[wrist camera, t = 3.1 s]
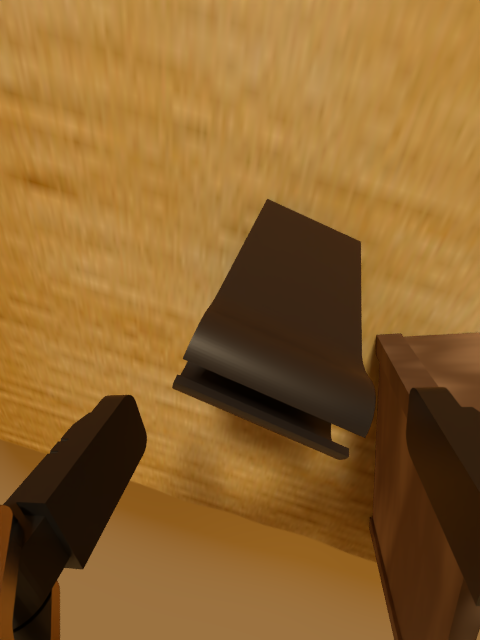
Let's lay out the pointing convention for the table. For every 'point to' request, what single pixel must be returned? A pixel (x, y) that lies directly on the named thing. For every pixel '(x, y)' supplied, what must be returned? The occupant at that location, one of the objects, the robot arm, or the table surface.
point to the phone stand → (287, 334)
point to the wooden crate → (419, 491)
